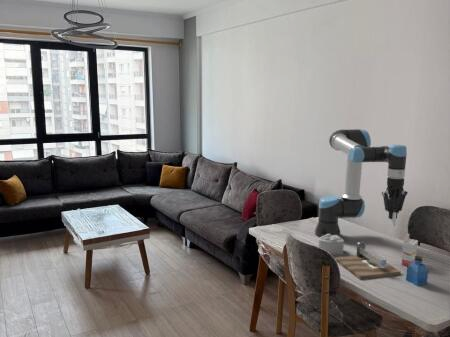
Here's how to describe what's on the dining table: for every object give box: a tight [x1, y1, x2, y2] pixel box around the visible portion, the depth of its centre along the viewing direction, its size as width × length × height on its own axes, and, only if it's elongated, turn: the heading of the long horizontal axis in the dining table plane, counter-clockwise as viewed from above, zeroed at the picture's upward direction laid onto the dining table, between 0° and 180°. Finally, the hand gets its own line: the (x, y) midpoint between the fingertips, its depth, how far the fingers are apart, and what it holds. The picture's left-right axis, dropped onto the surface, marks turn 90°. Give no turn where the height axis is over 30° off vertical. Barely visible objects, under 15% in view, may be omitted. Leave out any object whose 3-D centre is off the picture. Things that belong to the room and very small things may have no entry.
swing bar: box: [356, 240, 387, 267], centre depth 206 cm, size 21×4×7 cm, turn 14°
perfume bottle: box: [405, 255, 429, 287], centre depth 188 cm, size 6×6×12 cm
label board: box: [334, 254, 402, 280], centre depth 204 cm, size 23×22×2 cm
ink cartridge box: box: [401, 233, 419, 267], centre depth 208 cm, size 9×5×15 cm, turn 141°
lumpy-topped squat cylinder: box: [317, 234, 345, 256], centre depth 225 cm, size 10×13×9 cm
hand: (392, 225), depth 199 cm, fingers closed
